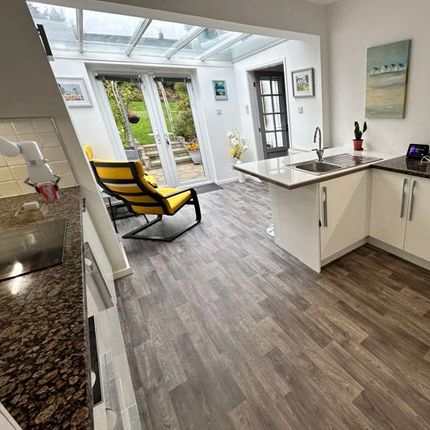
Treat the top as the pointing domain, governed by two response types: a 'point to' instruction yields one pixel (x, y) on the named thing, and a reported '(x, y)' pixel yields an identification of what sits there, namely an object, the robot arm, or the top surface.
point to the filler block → (30, 205)
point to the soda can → (48, 192)
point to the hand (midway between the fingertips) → (48, 191)
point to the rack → (31, 214)
